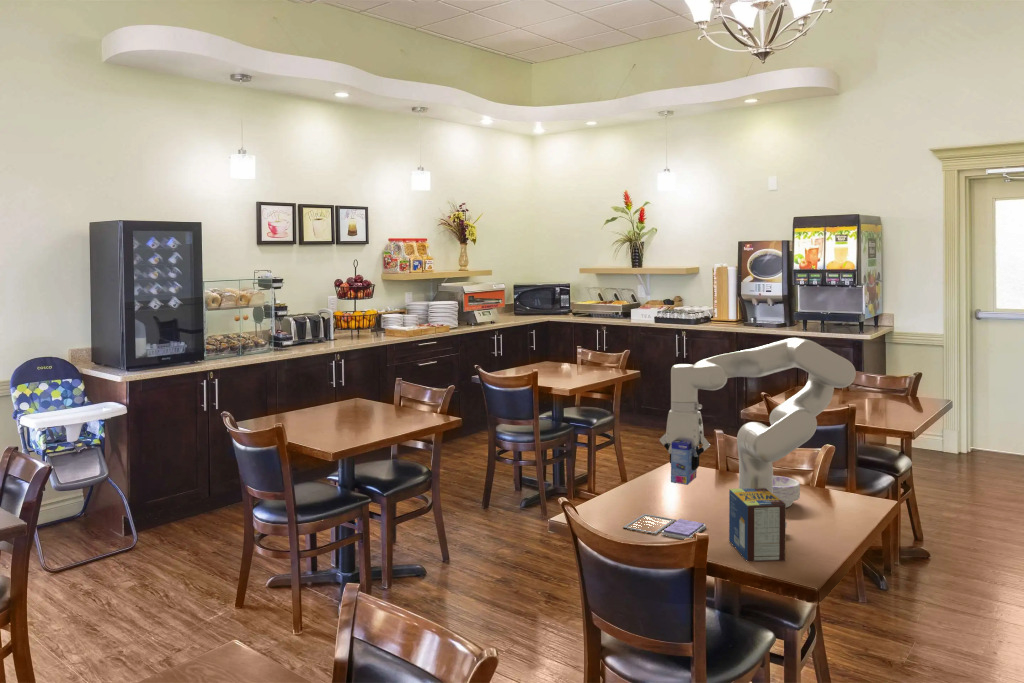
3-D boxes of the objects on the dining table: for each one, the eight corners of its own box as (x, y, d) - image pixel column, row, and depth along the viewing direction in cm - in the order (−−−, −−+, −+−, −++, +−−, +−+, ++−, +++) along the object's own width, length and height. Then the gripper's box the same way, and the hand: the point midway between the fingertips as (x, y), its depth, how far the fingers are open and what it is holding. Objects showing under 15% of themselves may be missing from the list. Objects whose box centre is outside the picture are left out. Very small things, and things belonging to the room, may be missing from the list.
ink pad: (706, 527, 229) (706, 523, 228) (689, 540, 218) (689, 535, 218) (678, 522, 234) (678, 518, 233) (661, 535, 223) (661, 530, 223)
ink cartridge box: (689, 485, 219) (688, 435, 218) (670, 483, 222) (669, 434, 220) (698, 476, 228) (698, 428, 226) (679, 474, 230) (679, 427, 229)
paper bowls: (792, 497, 257) (792, 474, 256) (805, 511, 242) (805, 487, 241) (746, 497, 258) (746, 474, 258) (755, 511, 243) (756, 486, 242)
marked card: (675, 521, 235) (675, 519, 235) (655, 535, 223) (655, 533, 223) (644, 515, 241) (644, 513, 241) (622, 528, 229) (622, 526, 229)
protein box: (764, 540, 218) (765, 487, 216) (785, 561, 202) (786, 503, 201) (728, 541, 217) (728, 488, 216) (746, 562, 202) (747, 505, 200)
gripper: (717, 407, 221) (717, 468, 222) (662, 402, 231) (662, 461, 232) (707, 411, 214) (707, 474, 216) (651, 406, 224) (651, 466, 226)
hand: (684, 467), depth 224 cm, fingers closed on ink cartridge box, 5 cm apart
